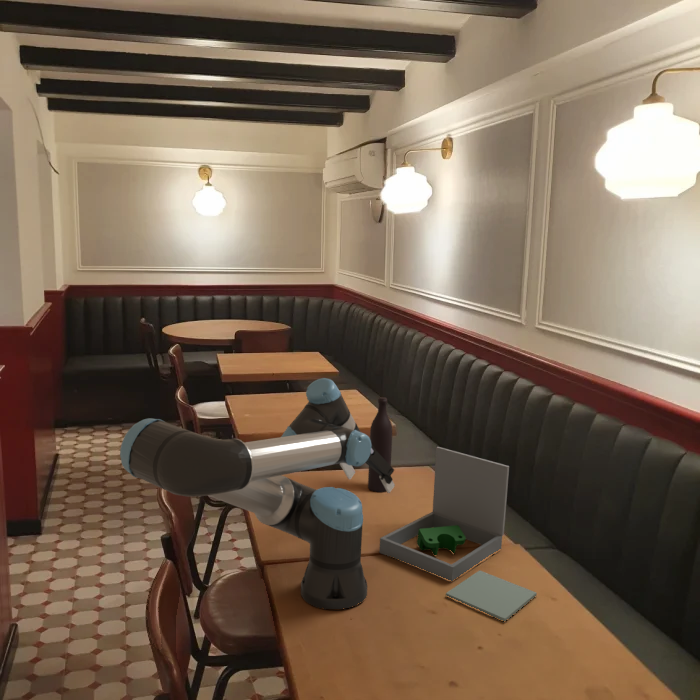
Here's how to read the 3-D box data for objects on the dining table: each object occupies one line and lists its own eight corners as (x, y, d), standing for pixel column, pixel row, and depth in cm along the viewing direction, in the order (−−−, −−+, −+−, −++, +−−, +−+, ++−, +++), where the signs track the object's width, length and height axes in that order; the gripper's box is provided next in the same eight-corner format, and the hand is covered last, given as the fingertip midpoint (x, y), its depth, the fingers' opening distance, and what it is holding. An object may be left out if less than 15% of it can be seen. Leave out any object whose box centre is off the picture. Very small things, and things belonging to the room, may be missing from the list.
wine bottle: (390, 485, 225) (394, 396, 220) (389, 493, 218) (393, 401, 213) (368, 483, 226) (372, 394, 220) (367, 491, 219) (370, 400, 213)
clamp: (429, 571, 178) (420, 546, 174) (421, 555, 183) (412, 531, 179) (471, 552, 179) (463, 527, 175) (461, 537, 184) (454, 513, 180)
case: (451, 582, 164) (457, 491, 160) (379, 552, 178) (383, 467, 174) (502, 549, 182) (509, 466, 178) (433, 524, 196) (438, 446, 192)
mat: (504, 623, 147) (505, 618, 147) (445, 597, 157) (445, 593, 157) (536, 596, 159) (536, 592, 159) (479, 574, 168) (479, 570, 168)
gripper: (389, 429, 166) (416, 483, 179) (315, 409, 182) (343, 460, 195) (373, 452, 162) (401, 506, 175) (298, 429, 178) (328, 480, 191)
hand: (371, 482), depth 185 cm, fingers open, 13 cm apart
